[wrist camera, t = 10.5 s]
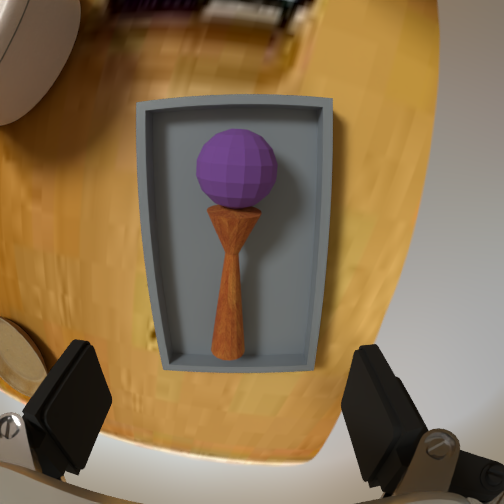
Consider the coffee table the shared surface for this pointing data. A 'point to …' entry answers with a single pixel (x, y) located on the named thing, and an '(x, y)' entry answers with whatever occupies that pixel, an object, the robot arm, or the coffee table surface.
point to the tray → (258, 242)
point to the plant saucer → (20, 359)
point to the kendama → (234, 218)
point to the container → (33, 50)
